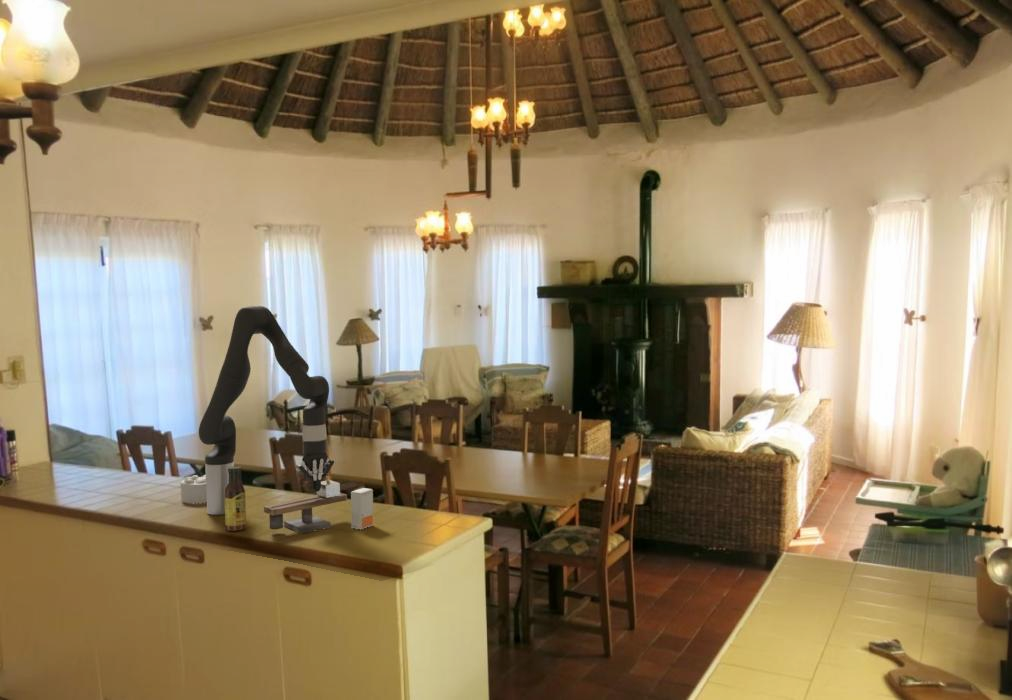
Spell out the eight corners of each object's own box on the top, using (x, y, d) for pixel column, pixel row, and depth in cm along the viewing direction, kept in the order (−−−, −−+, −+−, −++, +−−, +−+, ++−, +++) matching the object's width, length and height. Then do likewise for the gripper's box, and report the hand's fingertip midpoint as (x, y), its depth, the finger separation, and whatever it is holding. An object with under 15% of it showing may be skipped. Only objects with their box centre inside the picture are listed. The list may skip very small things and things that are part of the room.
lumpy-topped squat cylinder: (199, 505, 272) (198, 481, 272) (173, 501, 278) (172, 478, 278) (221, 498, 282) (220, 475, 281) (196, 494, 288) (195, 472, 287)
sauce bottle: (239, 532, 238) (237, 470, 237) (221, 531, 240) (219, 469, 238) (250, 526, 245) (248, 465, 244) (232, 525, 246) (230, 465, 245)
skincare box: (361, 530, 239) (360, 493, 238) (351, 528, 241) (350, 491, 241) (374, 525, 244) (373, 489, 244) (364, 523, 246) (363, 487, 246)
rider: (316, 499, 249) (316, 476, 249) (330, 497, 253) (329, 474, 252) (326, 503, 245) (325, 479, 244) (340, 500, 248) (339, 477, 248)
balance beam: (260, 531, 239) (259, 504, 239) (333, 515, 257) (332, 489, 257) (278, 539, 231) (277, 511, 230) (352, 522, 248) (351, 496, 248)
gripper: (327, 434, 252) (328, 485, 253) (290, 439, 243) (291, 492, 244) (338, 436, 246) (340, 489, 247) (301, 442, 237) (302, 496, 238)
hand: (316, 491), depth 245 cm, fingers closed
